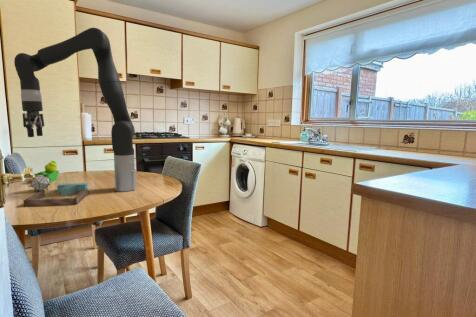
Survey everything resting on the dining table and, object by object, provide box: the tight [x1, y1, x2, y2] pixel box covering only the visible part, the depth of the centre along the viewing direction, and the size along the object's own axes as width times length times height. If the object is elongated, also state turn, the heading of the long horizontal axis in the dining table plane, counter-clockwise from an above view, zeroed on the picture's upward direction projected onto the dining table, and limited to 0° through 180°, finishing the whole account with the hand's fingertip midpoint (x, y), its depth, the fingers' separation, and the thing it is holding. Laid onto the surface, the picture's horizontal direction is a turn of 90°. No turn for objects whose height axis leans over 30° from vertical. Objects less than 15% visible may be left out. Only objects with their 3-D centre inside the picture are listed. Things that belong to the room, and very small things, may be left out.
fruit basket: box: [33, 160, 60, 184], centre depth 153 cm, size 11×9×11 cm
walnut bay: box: [22, 188, 89, 208], centre depth 120 cm, size 19×15×2 cm
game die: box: [28, 172, 51, 192], centre depth 134 cm, size 9×8×10 cm
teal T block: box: [56, 182, 89, 196], centre depth 133 cm, size 12×11×3 cm
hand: (35, 136), depth 131 cm, fingers open, 8 cm apart
